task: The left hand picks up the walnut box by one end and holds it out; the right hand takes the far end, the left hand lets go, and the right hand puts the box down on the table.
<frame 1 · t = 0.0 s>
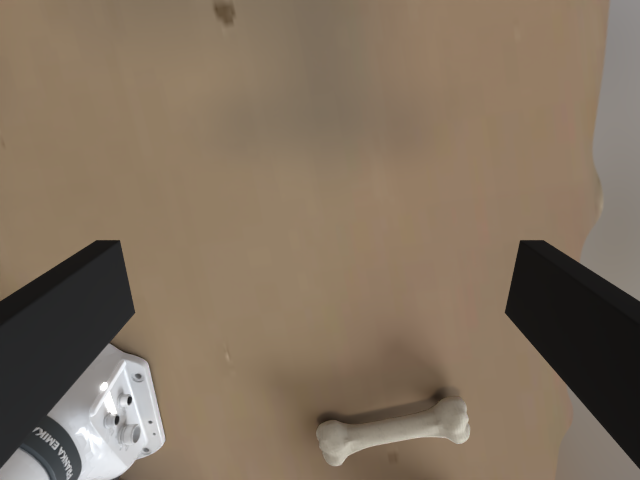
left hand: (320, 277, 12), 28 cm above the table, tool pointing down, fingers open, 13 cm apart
dog toy: (388, 415, 51), on the table
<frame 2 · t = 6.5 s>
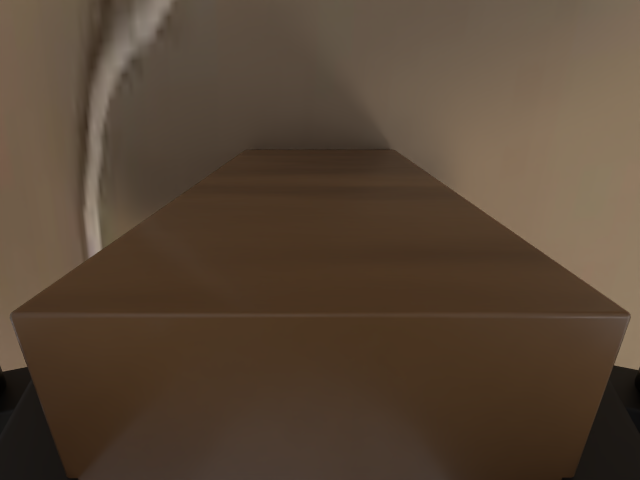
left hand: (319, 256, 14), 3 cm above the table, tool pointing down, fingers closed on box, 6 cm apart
box: (320, 348, 19), on the table, touching left hand
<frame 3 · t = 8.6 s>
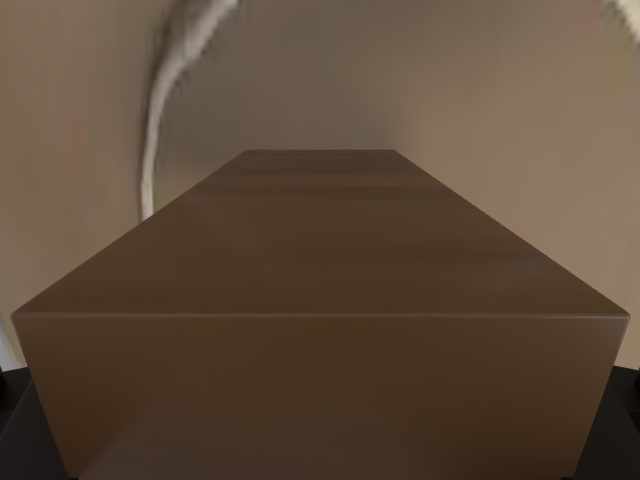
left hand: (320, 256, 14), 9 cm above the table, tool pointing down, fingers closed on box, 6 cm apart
box: (320, 348, 19), point 6 cm above the table, touching left hand
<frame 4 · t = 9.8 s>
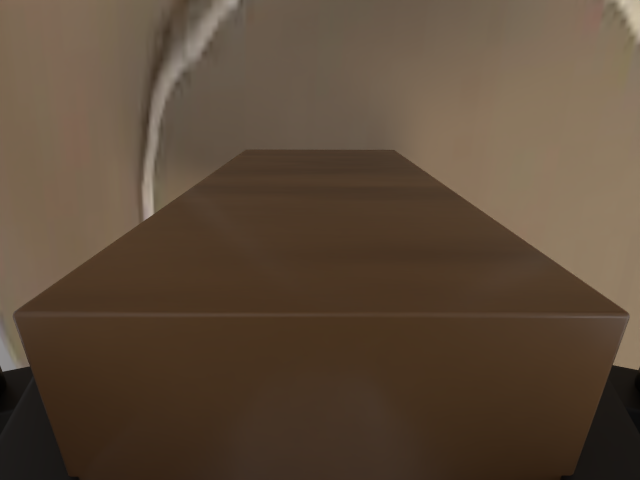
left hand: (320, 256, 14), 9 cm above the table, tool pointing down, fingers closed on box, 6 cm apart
box: (319, 348, 19), point 6 cm above the table, touching left hand, right hand
when the left hand's fingers open (9 cm above the table, at t = 10.9 s): box stays where it is, held by the right hand.
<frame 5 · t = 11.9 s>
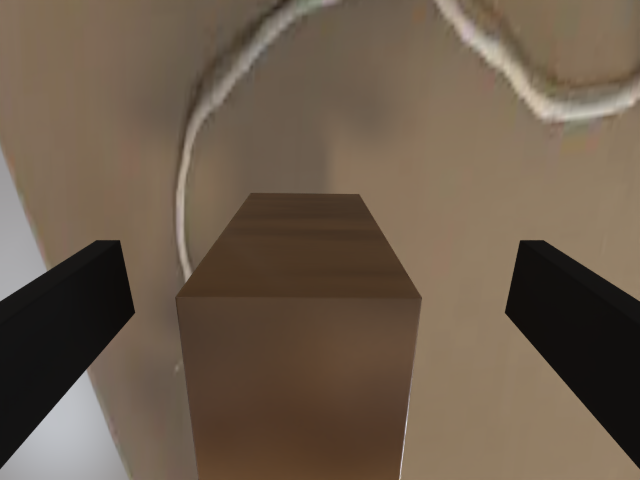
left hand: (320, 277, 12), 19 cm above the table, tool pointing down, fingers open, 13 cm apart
box: (304, 343, 25), point 10 cm above the table, touching right hand
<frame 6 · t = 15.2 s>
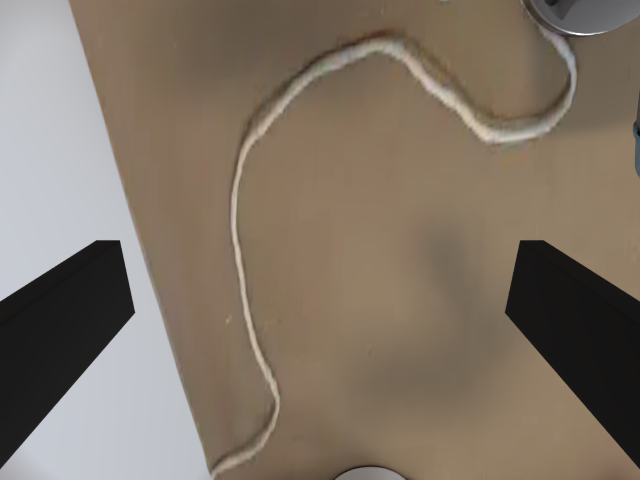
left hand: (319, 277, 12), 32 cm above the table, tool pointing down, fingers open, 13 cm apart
when the right hand's fingers open (9 cm above the table, at t = 20.6 s): box stays where it is, on the table.
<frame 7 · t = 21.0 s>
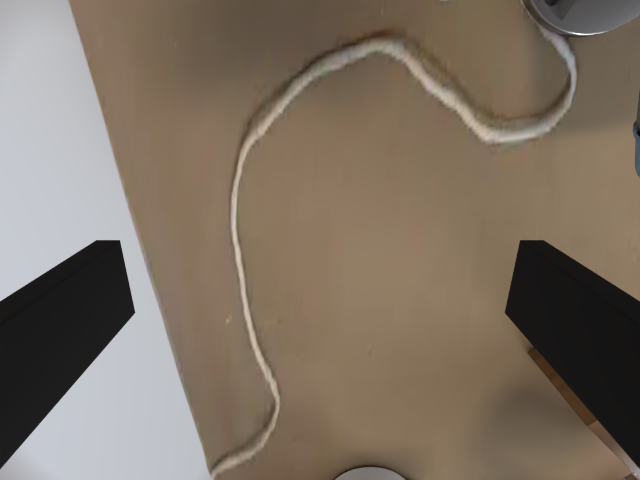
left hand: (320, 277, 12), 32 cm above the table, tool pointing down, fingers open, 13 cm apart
box: (584, 380, 55), on the table
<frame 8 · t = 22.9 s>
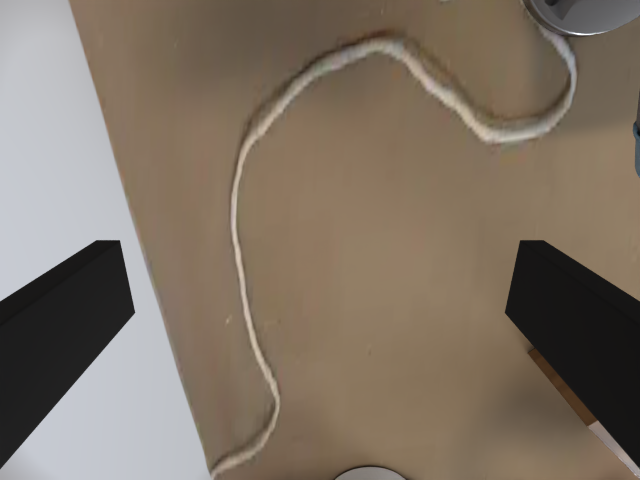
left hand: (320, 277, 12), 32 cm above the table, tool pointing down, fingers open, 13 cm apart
box: (584, 380, 55), on the table
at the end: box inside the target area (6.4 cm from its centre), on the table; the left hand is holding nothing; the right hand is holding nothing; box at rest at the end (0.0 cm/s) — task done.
